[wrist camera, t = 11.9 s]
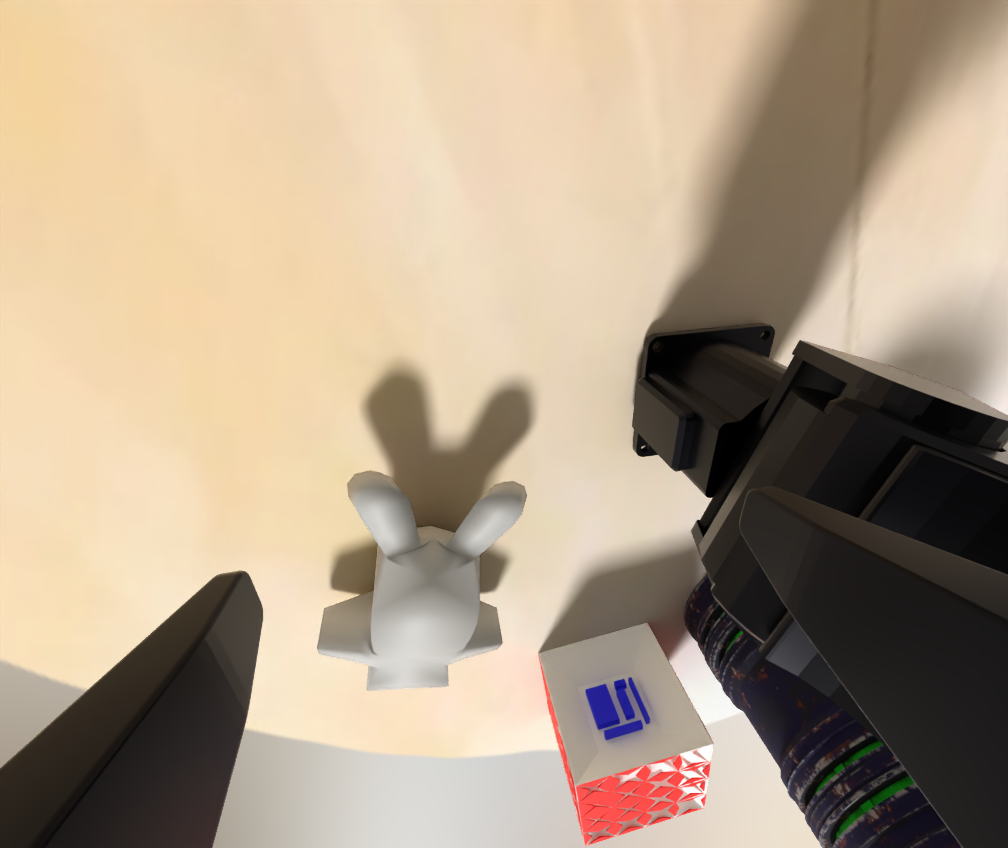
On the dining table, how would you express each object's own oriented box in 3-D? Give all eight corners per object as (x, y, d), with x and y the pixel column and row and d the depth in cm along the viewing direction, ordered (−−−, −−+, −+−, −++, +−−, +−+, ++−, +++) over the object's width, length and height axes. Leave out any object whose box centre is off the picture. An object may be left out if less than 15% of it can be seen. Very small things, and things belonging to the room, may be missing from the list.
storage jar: (818, 525, 30) (1133, 785, 17) (805, 617, 35) (1042, 874, 22) (678, 572, 29) (891, 877, 16) (684, 659, 34) (853, 947, 21)
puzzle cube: (549, 714, 35) (584, 846, 28) (537, 652, 31) (574, 786, 24) (647, 686, 35) (706, 807, 28) (648, 621, 31) (715, 743, 24)
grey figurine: (311, 724, 24) (315, 521, 16) (326, 632, 28) (335, 436, 20) (486, 712, 26) (565, 532, 18) (476, 630, 30) (537, 454, 22)
